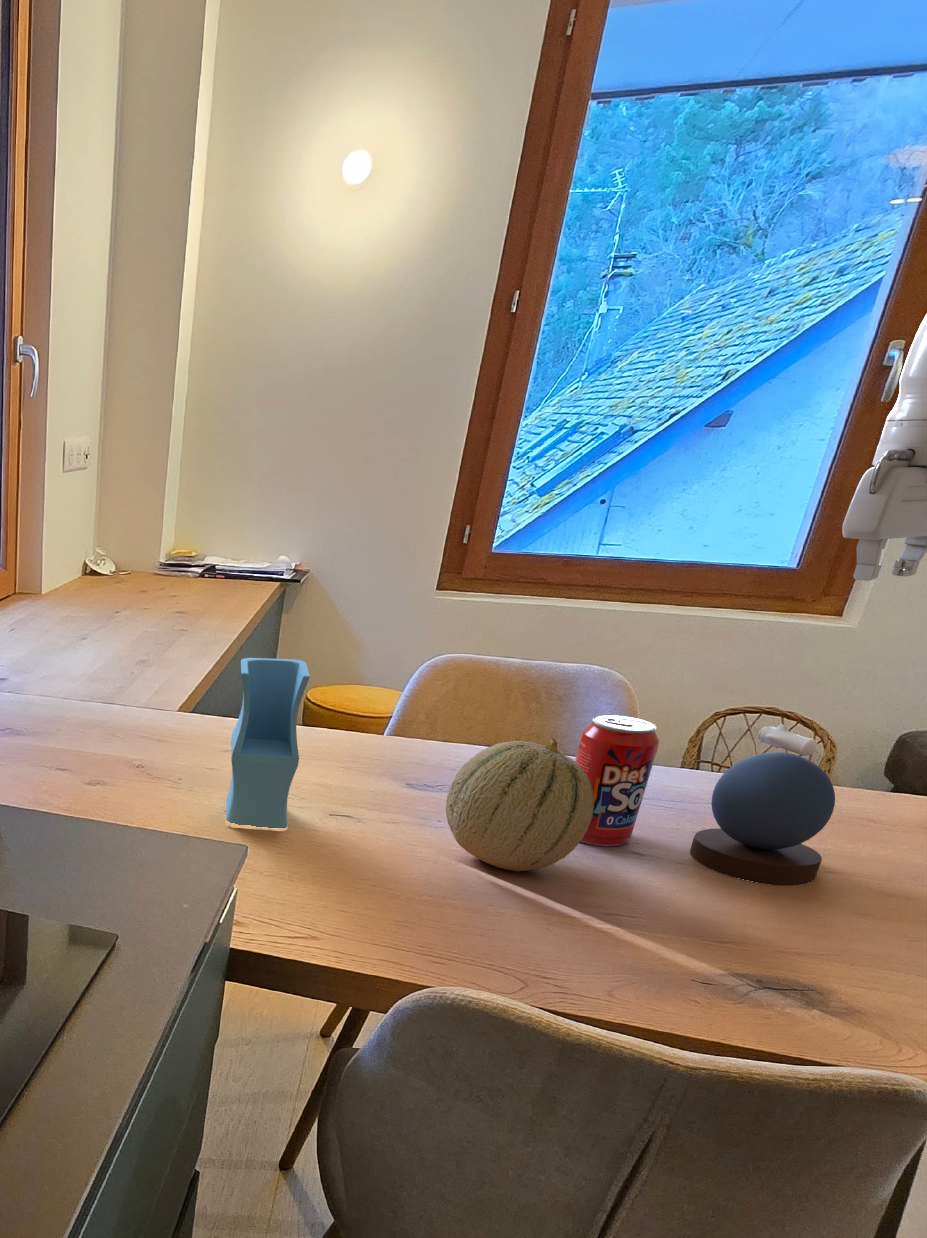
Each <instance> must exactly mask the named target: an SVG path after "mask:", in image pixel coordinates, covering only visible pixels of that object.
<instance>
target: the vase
mask: <svg viewBox="0 0 927 1238" xmlns="http://www.w3.org/2000/svg"><path fill="white" fill-rule="evenodd" d="M240 675H241V683H242V703H241V707H240V712H239V716H238V719H237V721H236V723H235V726H234V728H233V731H232V732H231V738H230V748H231V749H230V750H231V751H230V752H231V753H230V754H231V755H230V759H231V779H230V785H229V789H228V793H227V796H226V798H225V801H226V820H227V821H229V822H230V823H235V824H238V825H251V826H256V827H268V828H286V827H287V826H288V827H289V825H288V824H289V823H288V799H289V793H290V788H291V785H292V782H293V779H294V777H295V774H296V771H297V769H298V767H299V761H300V755H299V754H300V753H299V746H298V737H297V725H298V724H297V722H298V715H299V708H300V706H301V702H302V698H303V695H304V693H305V690H306V689H307V686H308V683H309V680H310V677H311V675H310V673H309V668H308V665H307V663H306V661H304V660H300V659H290V658H267V657H244V658H242V659H240Z"/></svg>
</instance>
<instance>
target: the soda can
mask: <svg viewBox="0 0 927 1238" xmlns="http://www.w3.org/2000/svg"><path fill="white" fill-rule="evenodd" d="M656 730H657V725H656V724H655V723H653V722H651V721H649V720H647V719H644V718H639V717H636V716H631V715H621V714H600V715H596V716H594V717H592V722H591V723H590V724H589V725H587V726H586V727H585V728H584V729H583V731H582V733H581V737H580V740H579V745H578V748H577V751H576V755H575V759H574V761H575V762H576V763H577V764H578V765H579V766H580V767H581V768H582V769H583V771H584V772H585V773H586V775H587V777H588V779H589V781H590V783H591V786H592V790H593V795H594V809H593V816H592V819H591V822H590V824H589V826H588V830H587V831H586V833H585V834H584V836H583V839H582V840H581V841H580V842H579V843H582V844H586V845H591V846H597V847H617V846H621V845H624V844H626V843H628V842H629V841H630V840H631V837H632V834H633V831H634V828H635V826H636V822H637V819H638V815H639V812H640V808H641V806H642V802H643V798H644V795H645V791H646V789H647V786H648V781H649V778H650V776H651V772H652V768H653V765H654V761H655V759H656V755H657V751H658V749H659V745H660V740H659V737H658V734H657V732H656Z"/></svg>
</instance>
